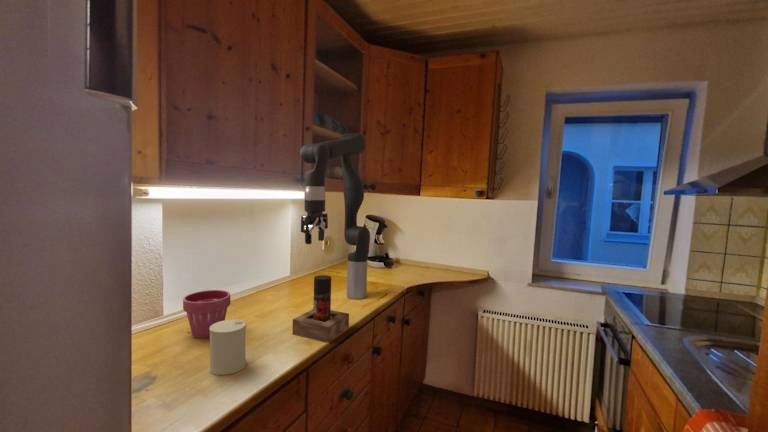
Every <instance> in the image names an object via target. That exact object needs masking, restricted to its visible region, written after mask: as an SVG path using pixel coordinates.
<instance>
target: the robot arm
mask: <svg viewBox="0 0 768 432" xmlns="http://www.w3.org/2000/svg"><path fill="white" fill-rule="evenodd" d="M366 149H367V140H366V137H365V136H364V134H362V133H360V132H353V133H352V132H351V133H342V134H341V135H340V136H339V139H331V140H326V141H325V140H324V141H322V142H314V143H312V142H311V143H307V144H304V145H303V146H301V148H300V150H299V157H300V159H301V161H303V162H304V163H305V164H315V165H314V167H313V168H312V169H309V170H306V172H305V174H304V180H305V181H304V182H305V183H304V212H306V215H301V217H300V232H301V233H303V234H304V243H305V245H311V244H312V233H313V230H314V229H315V228H316V227H317V230H318V231H317V232H318V233H317V234H318V235H317V237H318V241H320V242H321V241H322V242H324V241H325V231H326V229H327V230H328V228H329V226H328V225H329V223H328V222H329V221H328V213H325V212H326V189H325V183H326V181H325V178H326V177H325V176H326V172H327V168H328V163H329V161H330V160H332V159H336V158H338V157H340V162H341V168H342V169H341V170H342V183H343V186H342V187H343V200H344V201H343V202H344V229H343V231H344V232H343V233H344V241H345V243H346V244H348V245H350V246H355V250H354V251H353V252H350V253H348V255H347V271H346V274H347V275H346V277H347V278H346V298H348V299H352V300H361V299H365V298H366V297H367V293H368V292H367V291H368V290H367V289H368V288H367V287H368V257H369V253H370V245H371V244H370V243H371V233H370V230H369V228H368V227H366V226H360V225H358V224H357V223H358V221H357V219H358V216H357V215H358V212H359V210H360V208H361V205H362V204H363V201H364V199H365V191H364V189H365V188H364V182H363V180H362V178H361V176H360V175H359V174H358V172H357V170H356V168H355V167H354V164H353V160H352V155H360V154H363V153H364V152H365V150H366Z"/></svg>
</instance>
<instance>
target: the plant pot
mask: <svg viewBox="0 0 768 432" xmlns="http://www.w3.org/2000/svg"><path fill="white" fill-rule="evenodd" d="M230 305H231V293H230V292H229V291H227V290H223V289H207V290H202V291H195V292H192V293H189V294H187V295H186V296H184V297H183V300H182V310H183V311H184V312H186V316H187V319H188V323H189V327H190V331H191V334H192V337H194V338H199V339H204V338H210V330H209V328H210V326H211V325H212V324H214V323H217V322H220V321H224V320H226V316H227V312H228V307H230Z"/></svg>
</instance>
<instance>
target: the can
mask: <svg viewBox="0 0 768 432" xmlns="http://www.w3.org/2000/svg"><path fill="white" fill-rule="evenodd" d="M246 326H247V323H246V321H244V320H241V319H236V318H235V319H225V320H224V321H220V322H217V323H214V324H212V325H211V326H210V328H209V330H210V337H209V367H208V370H209V372H210V373H211V374H212V375H216V376H225V375H227V376H228V375H230V374H231V375H232V374H235V373H237V372H240V371H242V370H243V369H244V368H245V367H246V365H247V360H246V341H247V340H246V330H247V327H246Z"/></svg>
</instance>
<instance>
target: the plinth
mask: <svg viewBox="0 0 768 432" xmlns="http://www.w3.org/2000/svg"><path fill="white" fill-rule="evenodd" d="M349 324H350V313H348V312H345V311H344V312H343V311H338V310H333V309H331V312H330V320H328V321H326V322H322V321H317V320H313V308H312V309H310V310H309V311H306V312H305V313H303V314H301V315H299V316H297V317H295V318H292V335H295V336H298V337H303V338H306V339H310V338H311V339H310V340H314V339H315V341H320V342H323V343H329V342H330V341H332V340H333V339H335V338H336V337H338V336H339V335H340V334H343V332H344V331H346V330H348V329H349V327H350V325H349Z"/></svg>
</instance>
